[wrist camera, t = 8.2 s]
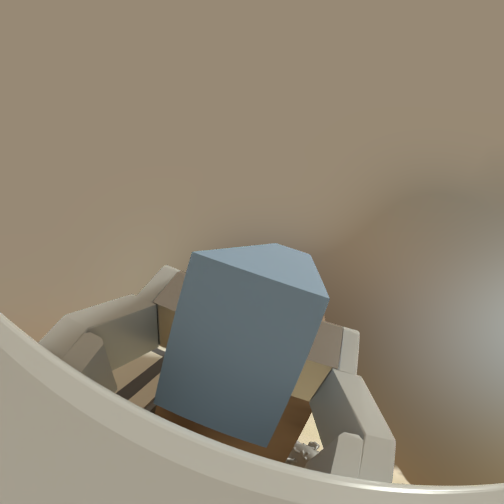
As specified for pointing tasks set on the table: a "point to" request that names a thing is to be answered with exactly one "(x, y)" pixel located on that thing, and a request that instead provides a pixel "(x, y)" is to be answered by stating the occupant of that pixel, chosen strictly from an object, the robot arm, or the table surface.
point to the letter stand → (140, 379)
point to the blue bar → (241, 338)
